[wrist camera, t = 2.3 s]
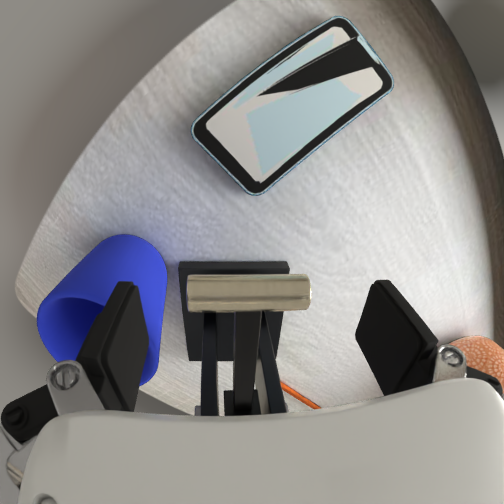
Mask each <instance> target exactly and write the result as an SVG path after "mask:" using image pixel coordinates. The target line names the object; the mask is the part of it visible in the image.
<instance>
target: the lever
mask: <svg viewBox="0 0 504 504" xmlns="http://www.w3.org/2000/svg"><path fill="white" fill-rule="evenodd" d="M186 298H187V308H188V311H189V312H234V346H233V390H225V391H224V412H225V416H247V415H261V409H260V402H259V396H258V390H257V389H254V384H255V374H256V365H257V355H258V345H259V335H260V324H261V314H262V312H270V311H295V310H306V309H308V307H309V305H310V301H311V285H310V280H309V278H308V276H307V275H306V274H271V275H189V276H188V278H187V288H186Z"/></svg>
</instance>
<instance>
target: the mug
mask: <svg viewBox="0 0 504 504" xmlns="http://www.w3.org/2000/svg"><path fill="white" fill-rule="evenodd" d="M118 281H132V282H133V283H134V285H137V286H138V288H139V292H140V298H141V303H142V308H143V313H144V317H145V322H146V326H147V331H148V335H149V347H148V351H147V355H146V359H145V363H144V367H143V372H142V376H141V380H140V385H139V386H141V385H143V384H145V383H147V382H148V381H149V380H150V379H151V378H152V377H153V376H154V374H155V373H156V371H157V368H158V363H159V351H160V340H161V330H162V321H163V312H164V304H165V296H166V288H167V271H166V266H165V263H164V261H163V259H162V257H161V255H160V254H159V252H158V251H157V250H156V249H155V248H154V247H153V246H152V245H151V244H150V243H149V242H147V241H145V240H144V239H142V238H140V237H137V236H133V235H126V234H122V235H115V236H112V237H109V238H107V239H105V240H103V241H102V242H101V243H99V244H98V245H97V246H96V247H95V248H94V249H93V250H92V251H91V252H90V253H89V254H88V255H87V256H85V257H84V258H83V259H82V260H81V261H80V262H79V263H78V264H77V265H76V266H75V267H74V268H73V269H72V270H71V271H70V272H69V273H68V274H67V275H66V276H65V277H64V279H63V280H62V281H61V282H60V283H59V284H58V285H57V286H56V287H55V288H54V289H53V290H52V291H51V292H50V293H49V294H48V296H47V297H46V298H45V299H44V300H43V301H42V303H41V305H40V307H39V309H38V313H37V327H38V331H39V334H40V337H41V339H42V341H43V343H44V345H45V347H46V348H47V350H48V351H49V353H50V354H51V355H52V356H53V357H54V359H55V360H56V361H57V362H60V361H63V360H73V361H75V360H76V357H77V355H78V353H79V351H80V349H81V347H82V344H83V342H84V340H85V338H86V336H87V334H88V332H89V330H90V328H91V326H92V324H93V322H94V320H95V318H96V316H97V315H98V314H99V313H101V312H102V310H103V308H104V307H105V305H106V303H107V301H108V299H109V297H110V295H111V293H112V291H113V290H114V288H115V286H116V284H117V282H118Z"/></svg>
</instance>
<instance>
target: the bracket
mask: <svg viewBox="0 0 504 504" xmlns="http://www.w3.org/2000/svg"><path fill="white" fill-rule="evenodd" d="M178 271H179V282H180V293H181V302H182V311H183V320H184V328H185V336H186V343H187V350H188V357H189V361H202V369H201V406H195V416H219V397H218V361H233V346H234V312H189V311H188V308H187V298H186V288H187V278H188V276H189V275H271V274H289V271H290V268H289V266H288V263H287V262H180V264H179V268H178ZM283 312H284V311H270V312H262V314H261V324H260V335H259V345H258V355H257V365H256V374H255V385H256V389H257V390H258V396H259V402H260V409H261V415H265V414H278V413H289V411H288V406H287V403H286V402H285V401H284V396H283V392H282V387H281V383H280V378H279V374H278V369H277V365H276V360H275V359H276V356H277V350H278V344H279V338H280V332H281V325H282V319H283Z"/></svg>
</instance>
